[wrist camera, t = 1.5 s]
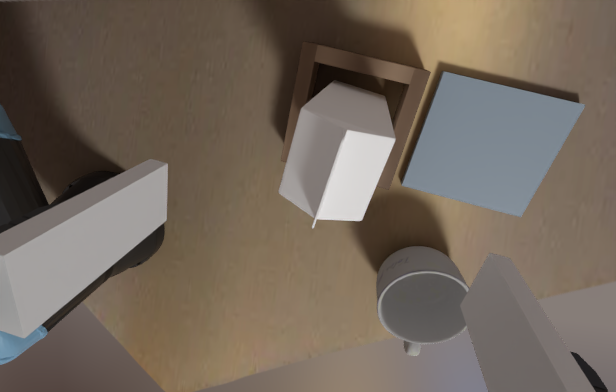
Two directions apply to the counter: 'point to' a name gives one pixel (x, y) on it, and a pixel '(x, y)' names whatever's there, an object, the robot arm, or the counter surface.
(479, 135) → the board
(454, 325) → the teacup
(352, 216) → the milk
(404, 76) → the frame
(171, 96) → the counter surface
